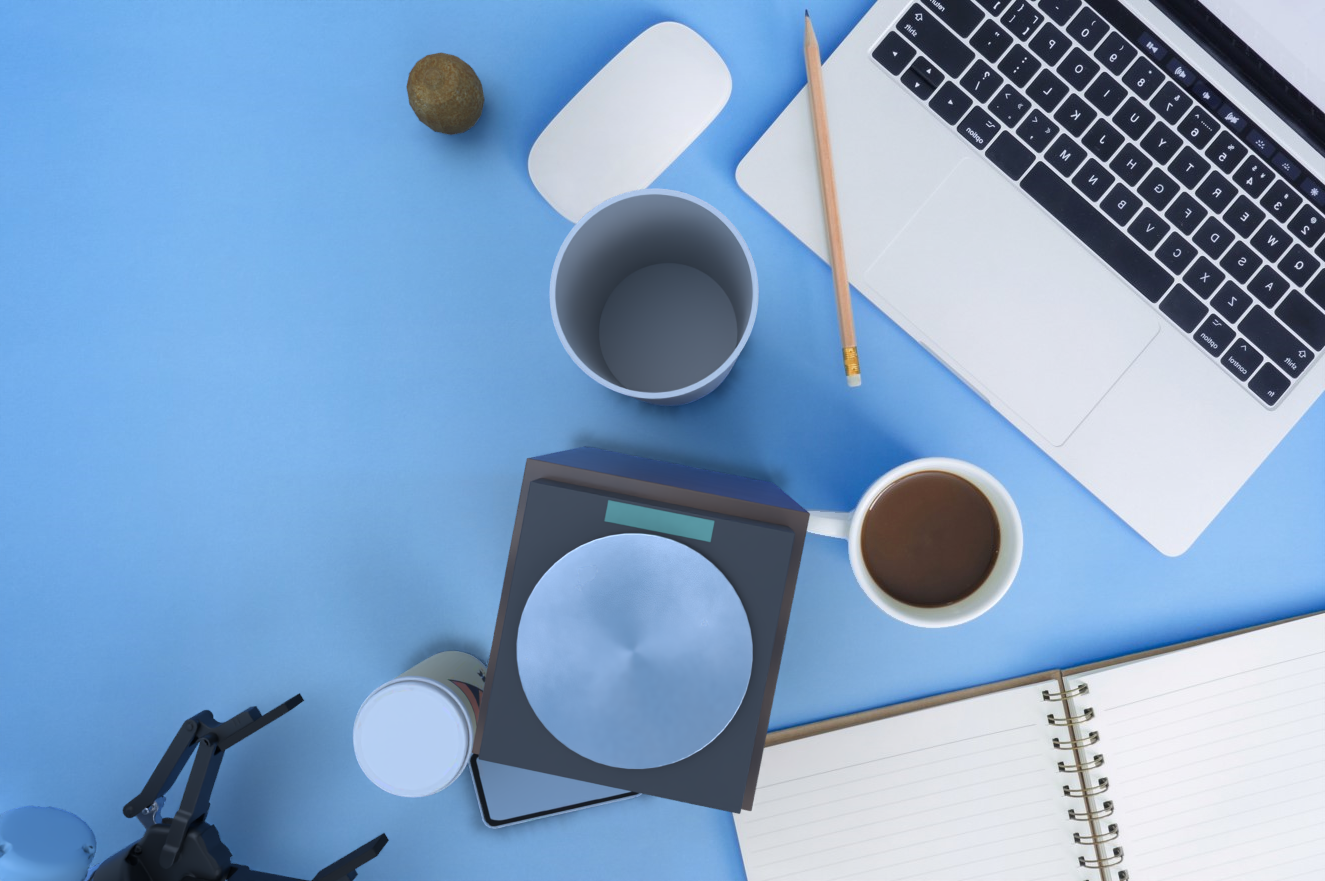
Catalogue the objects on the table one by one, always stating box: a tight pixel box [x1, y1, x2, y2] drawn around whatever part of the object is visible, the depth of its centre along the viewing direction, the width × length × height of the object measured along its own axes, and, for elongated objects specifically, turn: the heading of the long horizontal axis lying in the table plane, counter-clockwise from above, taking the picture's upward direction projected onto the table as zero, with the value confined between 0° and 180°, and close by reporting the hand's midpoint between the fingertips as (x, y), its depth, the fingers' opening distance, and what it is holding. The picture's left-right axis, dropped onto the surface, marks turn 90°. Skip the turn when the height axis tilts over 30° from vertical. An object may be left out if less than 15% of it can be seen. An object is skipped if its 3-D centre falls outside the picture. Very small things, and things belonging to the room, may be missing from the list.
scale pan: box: [516, 532, 753, 769], centre depth 48 cm, size 13×13×1 cm
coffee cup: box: [352, 650, 488, 798], centre depth 73 cm, size 9×9×12 cm
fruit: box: [405, 52, 486, 136], centre depth 74 cm, size 6×6×8 cm
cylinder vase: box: [549, 187, 760, 407], centre depth 65 cm, size 12×12×25 cm
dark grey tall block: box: [472, 445, 811, 812], centre depth 65 cm, size 18×17×26 cm
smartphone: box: [467, 752, 643, 830], centre depth 78 cm, size 7×1×15 cm
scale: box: [479, 478, 795, 815], centre depth 50 cm, size 16×15×3 cm
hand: (338, 772), depth 72 cm, fingers open, 13 cm apart
